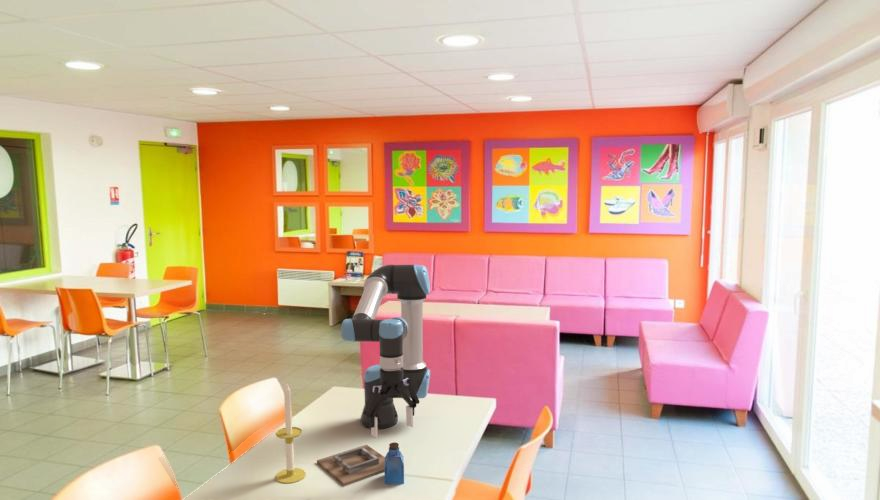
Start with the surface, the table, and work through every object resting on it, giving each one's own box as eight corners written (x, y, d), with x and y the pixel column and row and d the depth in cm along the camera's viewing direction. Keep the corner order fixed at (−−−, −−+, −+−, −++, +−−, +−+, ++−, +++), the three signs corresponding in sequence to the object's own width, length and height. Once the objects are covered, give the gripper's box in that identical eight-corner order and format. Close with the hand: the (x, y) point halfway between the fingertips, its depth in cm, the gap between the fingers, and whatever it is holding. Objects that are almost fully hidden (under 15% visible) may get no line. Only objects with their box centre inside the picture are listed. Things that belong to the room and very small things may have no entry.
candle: (277, 486, 191) (273, 389, 187) (273, 472, 200) (269, 379, 196) (308, 479, 195) (305, 385, 191) (302, 466, 204) (299, 375, 200)
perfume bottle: (385, 474, 198) (384, 440, 196) (403, 474, 198) (403, 440, 197) (385, 484, 192) (384, 449, 190) (404, 483, 192) (403, 448, 191)
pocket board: (316, 462, 206) (316, 454, 206) (366, 447, 218) (366, 439, 218) (344, 486, 190) (343, 477, 190) (396, 467, 202) (395, 459, 202)
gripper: (363, 378, 180) (364, 445, 182) (429, 363, 195) (429, 424, 197) (351, 372, 186) (353, 436, 188) (416, 358, 201) (417, 418, 203)
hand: (392, 430), depth 192 cm, fingers open, 13 cm apart
